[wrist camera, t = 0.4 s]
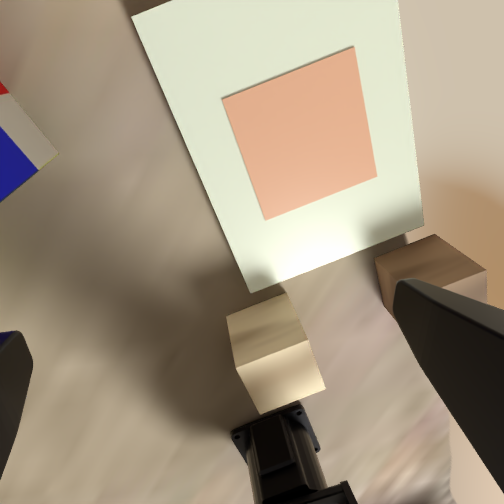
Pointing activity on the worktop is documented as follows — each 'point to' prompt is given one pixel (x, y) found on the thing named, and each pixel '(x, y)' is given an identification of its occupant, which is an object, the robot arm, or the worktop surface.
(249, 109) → the plate
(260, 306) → the maple block
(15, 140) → the puzzle toy
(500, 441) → the robot arm
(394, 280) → the walnut block
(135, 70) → the worktop surface
